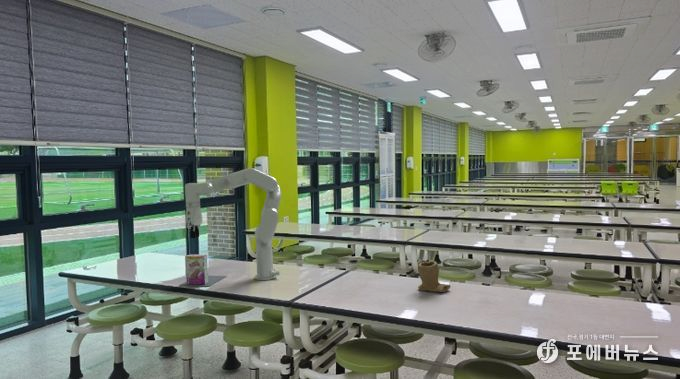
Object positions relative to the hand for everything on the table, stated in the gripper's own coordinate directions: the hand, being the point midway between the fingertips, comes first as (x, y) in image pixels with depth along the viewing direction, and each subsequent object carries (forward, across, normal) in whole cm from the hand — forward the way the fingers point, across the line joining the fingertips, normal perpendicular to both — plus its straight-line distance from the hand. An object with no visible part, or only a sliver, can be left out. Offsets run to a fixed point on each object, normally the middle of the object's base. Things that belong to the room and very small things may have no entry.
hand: (194, 237), depth 254 cm
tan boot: (+27, +1, -131) cm, 134 cm away
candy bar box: (+27, 0, 0) cm, 27 cm away
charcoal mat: (+27, +7, 0) cm, 28 cm away
